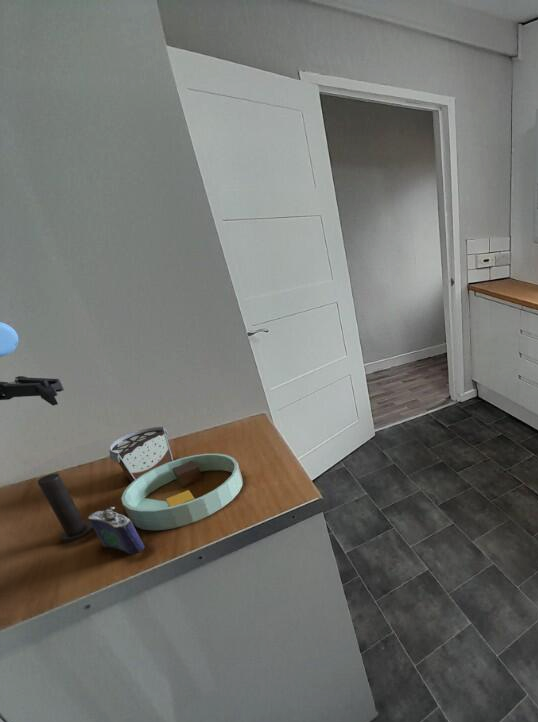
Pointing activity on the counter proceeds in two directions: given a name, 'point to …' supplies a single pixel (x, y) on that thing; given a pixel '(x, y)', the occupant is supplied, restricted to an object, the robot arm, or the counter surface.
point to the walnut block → (187, 474)
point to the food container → (141, 451)
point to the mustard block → (179, 498)
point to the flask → (116, 531)
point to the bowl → (164, 517)
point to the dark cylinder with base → (64, 508)
